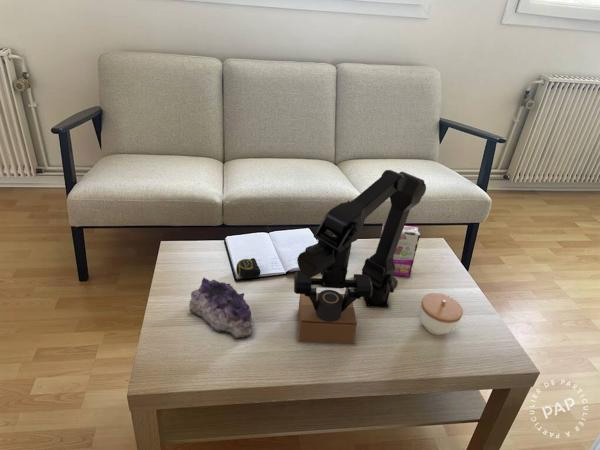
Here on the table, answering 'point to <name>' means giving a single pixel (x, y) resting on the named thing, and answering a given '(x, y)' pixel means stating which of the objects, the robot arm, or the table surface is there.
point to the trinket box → (440, 313)
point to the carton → (326, 326)
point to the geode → (222, 308)
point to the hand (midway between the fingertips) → (328, 309)
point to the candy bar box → (405, 250)
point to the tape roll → (329, 305)
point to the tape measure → (248, 268)
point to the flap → (307, 302)
